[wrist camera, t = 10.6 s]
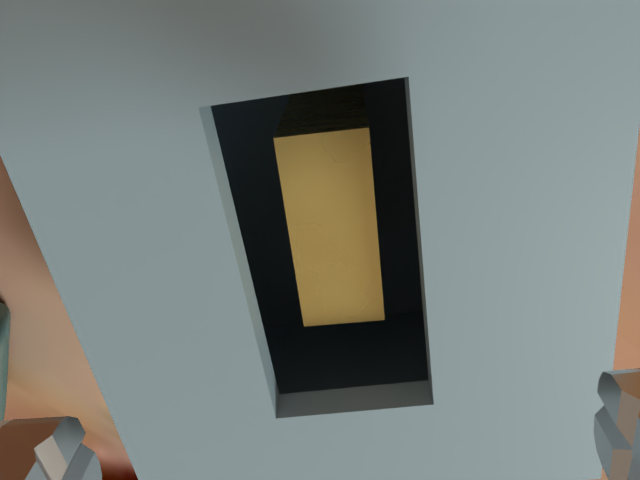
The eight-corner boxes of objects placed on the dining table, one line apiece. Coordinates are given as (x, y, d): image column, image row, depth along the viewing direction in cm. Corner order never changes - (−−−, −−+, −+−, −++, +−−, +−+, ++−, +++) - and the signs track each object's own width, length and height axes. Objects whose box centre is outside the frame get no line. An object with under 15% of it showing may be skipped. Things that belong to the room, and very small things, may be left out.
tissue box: (100, -35, 19) (-82, -36, 11) (518, -109, 17) (671, -174, 9) (210, 341, 26) (152, 511, 18) (514, 309, 24) (600, 478, 16)
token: (291, 91, 20) (273, 138, 14) (361, 83, 19) (369, 127, 14) (312, 240, 22) (304, 326, 17) (373, 234, 22) (384, 320, 17)
